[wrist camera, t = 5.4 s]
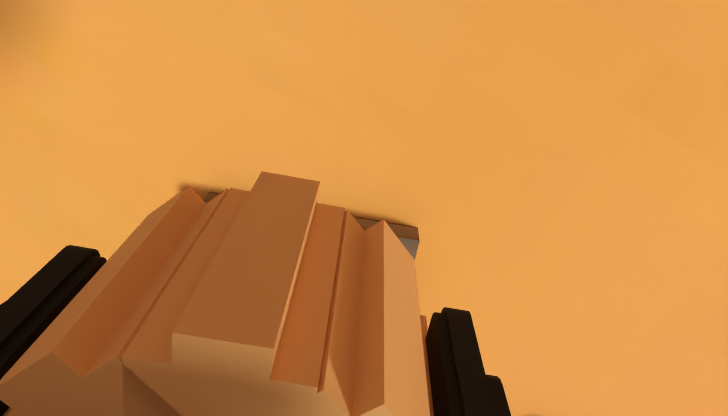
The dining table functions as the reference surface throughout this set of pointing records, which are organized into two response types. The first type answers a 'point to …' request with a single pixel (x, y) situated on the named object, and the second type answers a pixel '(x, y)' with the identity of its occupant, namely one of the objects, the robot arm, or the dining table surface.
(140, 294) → the orange gear
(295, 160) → the dining table surface
